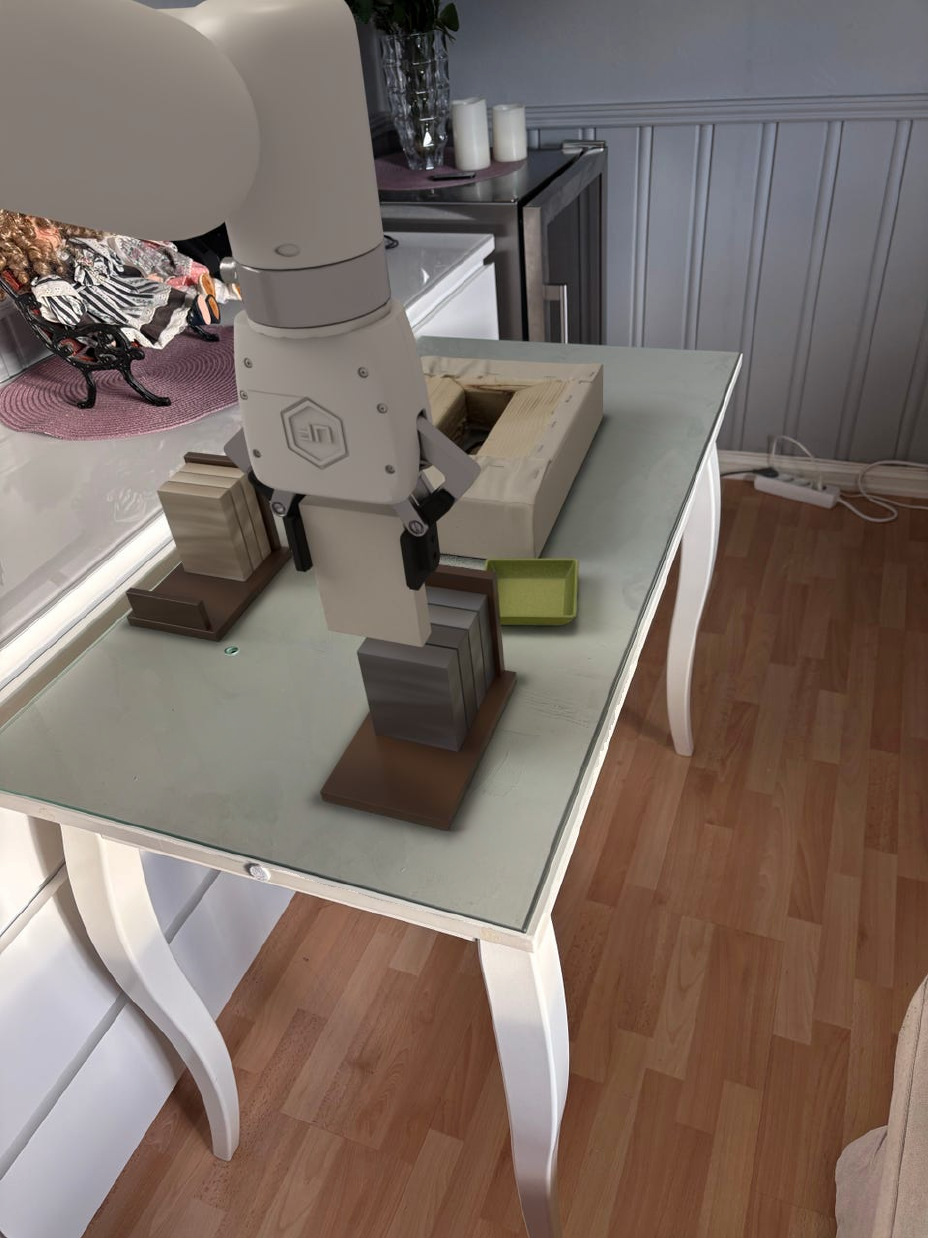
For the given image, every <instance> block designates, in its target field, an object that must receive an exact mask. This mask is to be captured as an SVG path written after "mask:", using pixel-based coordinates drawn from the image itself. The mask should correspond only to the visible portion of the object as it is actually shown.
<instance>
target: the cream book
mask: <svg viewBox="0 0 928 1238" xmlns="http://www.w3.org/2000/svg"><path fill="white" fill-rule="evenodd" d="M299 509H300V513H301V516H302V520H303V525H304V529H305V533H306V538H307V542H308V546H309V551H310V555H311V559H312V564H313V566H312V568H313V573H314V577H315V581H316V586H317V590H318V594H319V599H320V602H321V607H322V611H323V615H324V619H325V624H326V627H327V630H328V631H331V632H336V633H340V634H341V633H342V634H346V635H351V636H356V637H357V636H359V637H363V638H366V637H368V638H374V639H379V640H385V641H390V642H396V643H401V644H407V645H412V646H418V647H423V646H424V644H425V643H426V641H427V639H428V638H429V636H430V634H431V625H430V618H429V611H428V604H427V597H426V590H425V583H424V584H423V585H422V587H421V588H420V590H418V591H416V590H410V589H409V587H407V585H406V579H405V572H404V565H403V559H402V552H401V545H400V536H401V534H402V533H403V531H404V530H406V527H405V525H404V523H403V522H402V520H401V519H400V517H399V516H398V514H397V513H396V511H395V510H394V508H393V507H392V505H391V504H375V503H366V502H358V501H350V500H342V499H334V498H327V497H319V496H312V495H306V496H305V497H304V498H303V499H302V501H301V502H300V503H299Z"/></svg>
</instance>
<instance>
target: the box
mask: <svg viewBox="0 0 928 1238" xmlns="http://www.w3.org/2000/svg"><path fill="white" fill-rule="evenodd" d="M420 359H421V363H422V367H423V372H424V376H425V381H426V385H427V390H428V396H429V401H430V406H431V413H432V419H433V426H435V427H436V428H437V429H438V430H439V431H440V432H442V433H443V434H444V435H445V436H446V437H447V438H449V439H450V440H451V441H452V442H453V443H454V444H456V445H457V446H458V447H459V448H460V449H462V450H463V451H464V452H465V453H466V454H467V455H469V456H470V457H471V458H472V459H473V460H474V461H476V462H477V463H478V464H479V465H480V468H481V473H480V474H479V476H478V477H477V479H476V480H475V482H474V483H473V485H472V486H471V487H470V488H469V489H468V490H467V491H466V492H465V493H464V495H463V496H462V497H461V498H460V499H459V500H458V501H457V502H456V503H455V504H454V505H453V506H452V507H451V509H450V510H449V511H448V512H447V513H446V514H445V515H444V516H442V517H441V518H440V519H439V520H438V521H437V522H436V523H437V531H438V540H439V548H440V554H444V555H451V556H460V557H467V558H473V559H474V558H475V559H482V560H487V559H540V558H539V557H540V555H541V554H542V551H543V549H544V547H545V544H546V542H547V540H548V538H549V536H550V534H551V532H552V529H553V527H554V525H555V523H556V521H557V518H558V516H559V515H560V511H561V509H562V508H563V505H564V503H565V501H566V499H567V496H568V494H569V492H570V490H571V488H572V486H573V483H574V481H575V478H576V477H577V475H578V473H579V470H580V468H581V466H582V464H583V462H584V460H585V458H586V455H587V454H588V453H587V452H589V449H590V446H591V445H592V442H593V440H594V438H595V436H596V433H597V431H598V429H599V427H600V424H601V422H602V421H603V418H604V364H603V363H599V362H597V363H596V362H594V363H593V362H587V363H586V362H585V363H568V362H567V363H566V362H565V363H564V362H545V361H543V362H542V361H525V360H507V359H489V358H465V357H464V358H463V357H449V356H447V357H446V356H440V355H423V356H420ZM423 472H424V473H425V475H426V477H427V478H428V480H429V481H430V483H431V485H432V486H433V488H434V489H435V490H436V489H437V488H438V487H439V486H440V485H441V484H442V483H443V482H445V477H444V475H443V474H442V473H441V472H440V471H439V470H438V469H437V468H436V467H434V466H433V465H432V466H431V467H429V468H427V469H424V470H423ZM411 495H412V493H411ZM412 497H413V498H414V496H413V495H412ZM414 500H415V502H416V503H417V501H416V499H415V498H414ZM417 505H419V504H418V503H417Z"/></svg>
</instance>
